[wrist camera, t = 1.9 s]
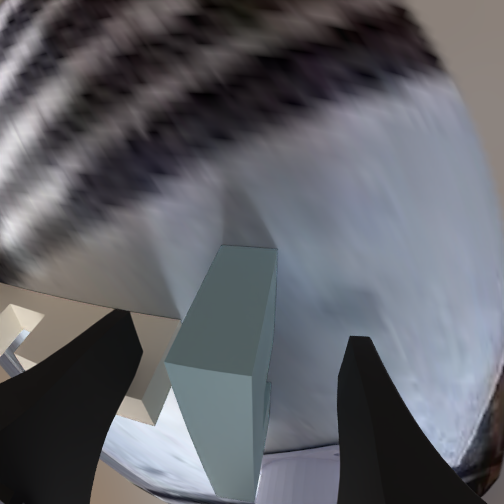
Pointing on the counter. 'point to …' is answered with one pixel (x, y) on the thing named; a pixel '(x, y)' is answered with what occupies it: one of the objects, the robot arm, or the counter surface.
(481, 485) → the counter surface
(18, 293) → the cream rail
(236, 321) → the teal notched block
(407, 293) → the counter surface
